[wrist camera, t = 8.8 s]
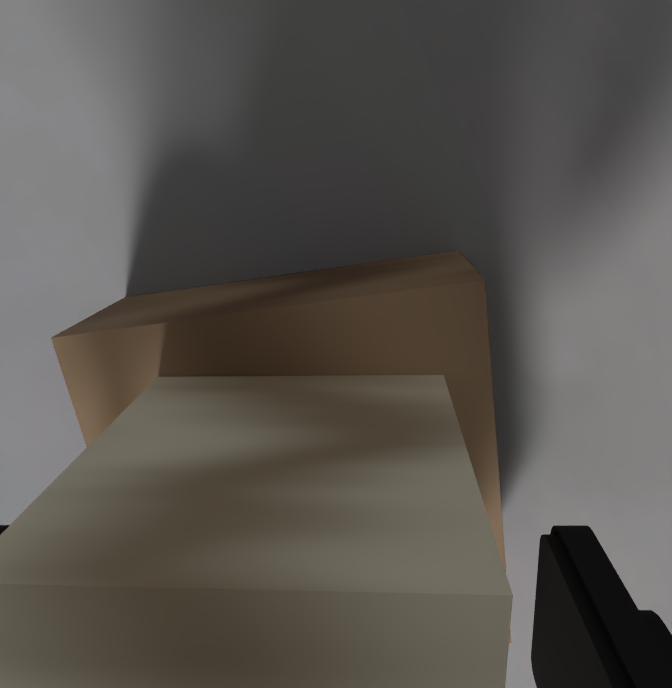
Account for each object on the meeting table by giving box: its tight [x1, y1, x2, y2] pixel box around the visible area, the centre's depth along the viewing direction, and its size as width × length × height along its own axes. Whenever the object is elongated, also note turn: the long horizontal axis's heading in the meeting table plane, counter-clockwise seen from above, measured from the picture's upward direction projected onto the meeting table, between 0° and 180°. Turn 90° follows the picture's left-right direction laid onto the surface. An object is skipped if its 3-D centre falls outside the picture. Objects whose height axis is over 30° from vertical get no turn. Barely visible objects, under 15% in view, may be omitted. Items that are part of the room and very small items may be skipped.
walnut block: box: [51, 250, 511, 643], centre depth 14 cm, size 9×9×4 cm
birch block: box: [0, 375, 513, 688], centre depth 10 cm, size 6×6×6 cm
